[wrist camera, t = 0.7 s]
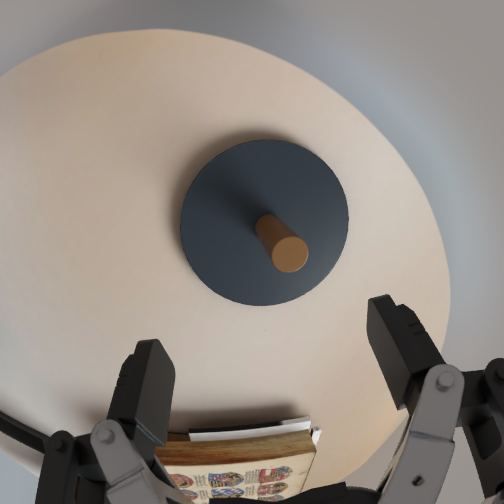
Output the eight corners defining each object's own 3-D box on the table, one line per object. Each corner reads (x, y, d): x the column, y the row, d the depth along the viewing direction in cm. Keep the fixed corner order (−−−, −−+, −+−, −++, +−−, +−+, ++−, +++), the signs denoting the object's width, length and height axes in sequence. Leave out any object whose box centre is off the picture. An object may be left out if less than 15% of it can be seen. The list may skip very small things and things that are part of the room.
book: (319, 403, 37) (119, 416, 33) (334, 436, 31) (112, 451, 27) (297, 477, 46) (156, 487, 41) (305, 501, 40) (156, 513, 35)
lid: (146, 225, 26) (124, 256, 18) (272, 105, 24) (300, 87, 16) (260, 326, 31) (276, 378, 23) (370, 227, 29) (417, 253, 22)
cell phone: (53, 455, 35) (52, 457, 35) (-6, 424, 32) (-7, 427, 31) (50, 437, 34) (49, 441, 33) (-13, 404, 30) (-14, 406, 29)
